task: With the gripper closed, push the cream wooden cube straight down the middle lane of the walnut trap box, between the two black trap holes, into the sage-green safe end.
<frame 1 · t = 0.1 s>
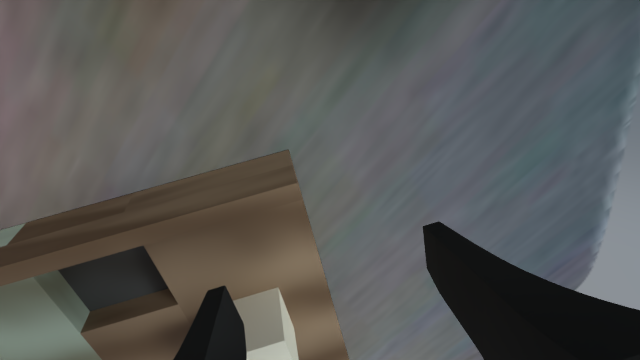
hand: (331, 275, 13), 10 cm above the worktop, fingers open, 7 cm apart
cream cube: (256, 317, 24), point 2 cm above the worktop, touching trap box
trap box: (171, 320, 26), on the worktop
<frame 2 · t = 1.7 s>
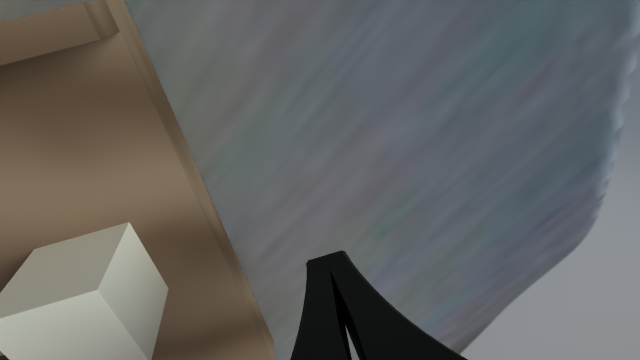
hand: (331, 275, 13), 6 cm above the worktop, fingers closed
cream cube: (105, 270, 17), point 2 cm above the worktop, touching trap box
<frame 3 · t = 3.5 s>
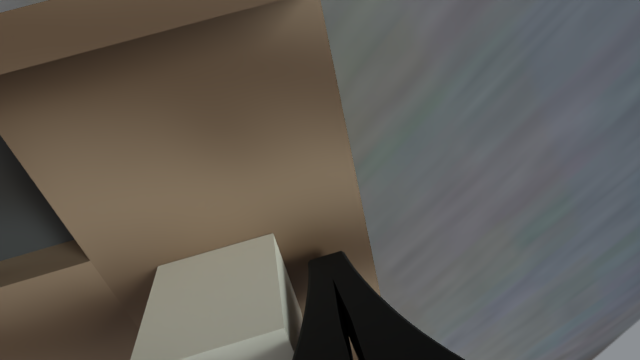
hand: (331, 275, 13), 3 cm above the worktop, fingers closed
cream cube: (235, 290, 14), point 2 cm above the worktop, touching gripper
trap box: (97, 297, 15), on the worktop
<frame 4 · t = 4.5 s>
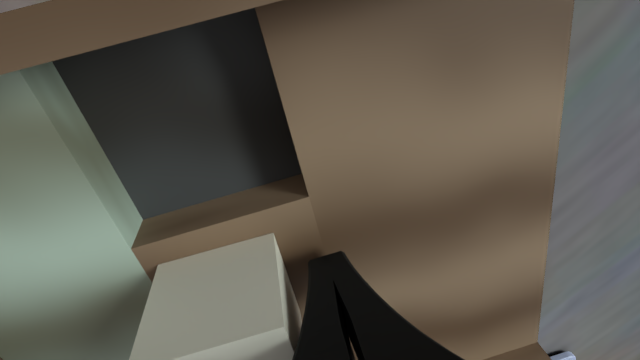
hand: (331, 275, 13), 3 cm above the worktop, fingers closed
cream cube: (234, 290, 14), point 2 cm above the worktop, touching gripper
trap box: (272, 245, 16), on the worktop
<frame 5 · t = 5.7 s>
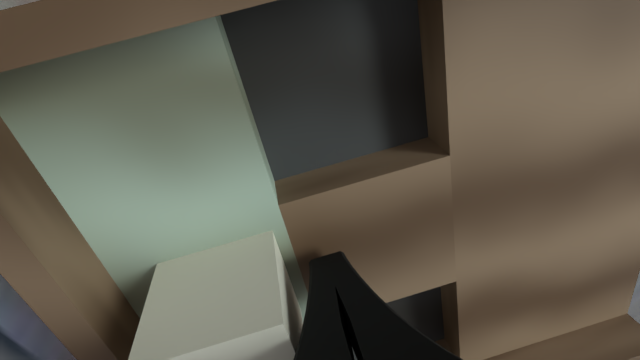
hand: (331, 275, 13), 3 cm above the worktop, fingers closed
cream cube: (234, 288, 14), point 2 cm above the worktop, touching gripper, trap box
trap box: (385, 211, 16), on the worktop
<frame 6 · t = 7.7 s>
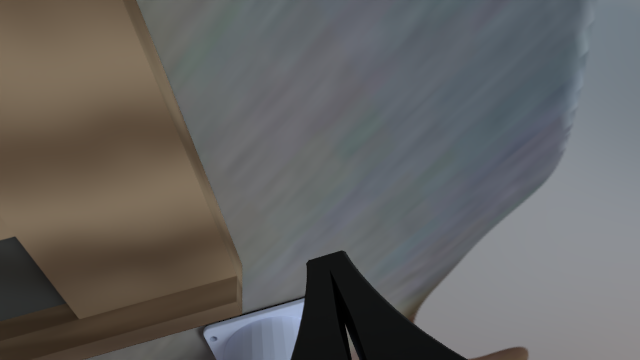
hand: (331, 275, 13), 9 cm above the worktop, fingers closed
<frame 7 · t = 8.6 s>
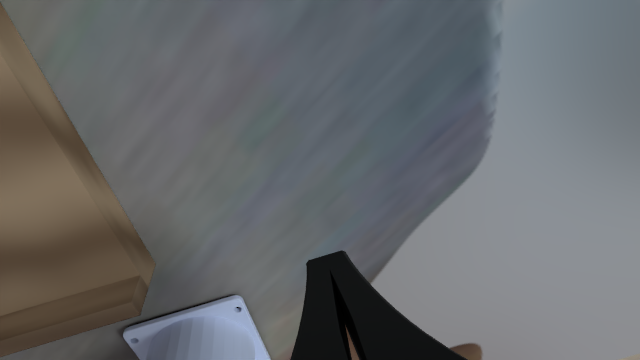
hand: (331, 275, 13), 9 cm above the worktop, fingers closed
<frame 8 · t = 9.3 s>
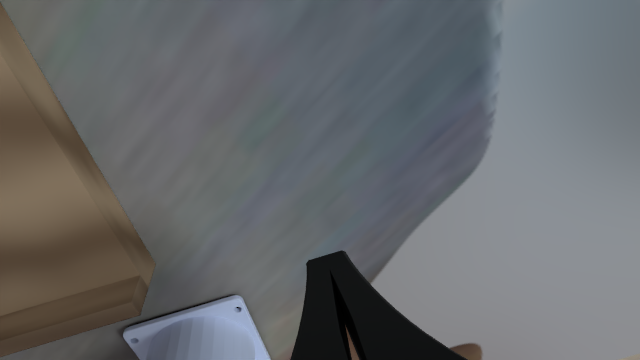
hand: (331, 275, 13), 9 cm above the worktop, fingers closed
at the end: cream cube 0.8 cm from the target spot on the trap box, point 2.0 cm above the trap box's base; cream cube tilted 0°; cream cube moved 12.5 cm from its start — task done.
